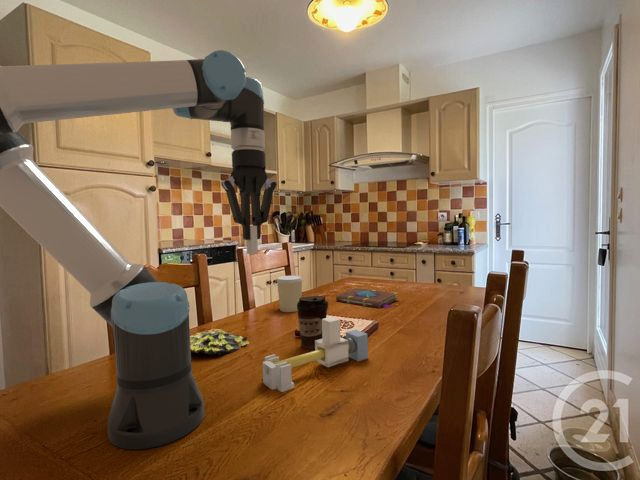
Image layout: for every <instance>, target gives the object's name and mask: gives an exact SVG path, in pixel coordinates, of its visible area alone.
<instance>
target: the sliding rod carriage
mask: <svg viewBox="0 0 640 480" xmlns="http://www.w3.org/2000/svg"><path fill="white" fill-rule="evenodd" d="M323 348H324V349H325V358H321V359H318V360H315V361H316V362H318V363H319V364H321V365H323V366H324V367H326V368H330V367H333V366H336V365H339V364H344V363H345V362H348V361H349V360H350V359H349V357H348V340H346V339H345V338H343V337H341V319H340V318H337V317H334V316H329V317H326V318H324V319H322V339H319V340H315V348H314V349H315V350H314V351H316V350H319V349H323ZM315 361H314V362H315Z"/></svg>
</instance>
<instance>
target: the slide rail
mask: <svg viewBox="0 0 640 480" xmlns="http://www.w3.org/2000/svg"><path fill="white" fill-rule="evenodd" d="M368 335H369V334H368V333H366V332H363V331H361V330H358V329H352V330H349V331H345V338H344V339H346V340H348V358H350V359H353V360H354V361H356V362H361V361H364V360H367V359H369V345H368V344H369V336H368ZM321 358H325V349H324V348H323V349H319V350H316V351H315V350H312V351H310V352H307V353H303V354H298V355H296V356H292V357H289V358H284V359H281V360H280V356H276V354H275V353H273V354H270V355H267V356H264V361H262V383H263V384H264V385H265V386H266V387H268V388H269V389H270V390H271V391H274V390H278V391H279V392H281V393H284V392H288V391H289V390H292V389H295V382H293V380H292V377H293V376H292V368H294V367H297V366H302V365H305V364H308V363H311V362H315V360H318V359H321Z"/></svg>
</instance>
